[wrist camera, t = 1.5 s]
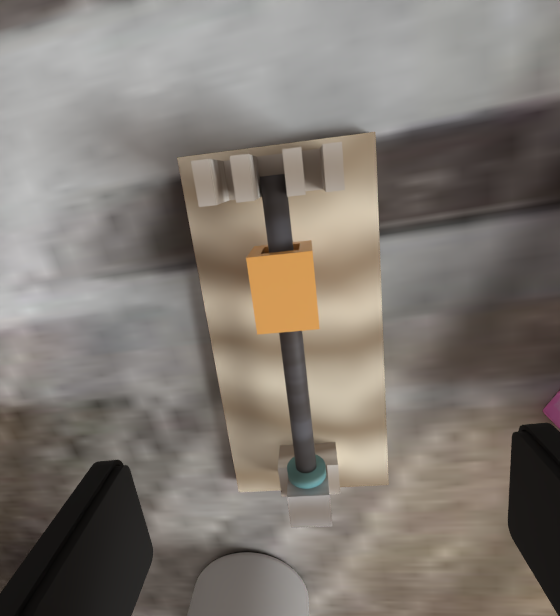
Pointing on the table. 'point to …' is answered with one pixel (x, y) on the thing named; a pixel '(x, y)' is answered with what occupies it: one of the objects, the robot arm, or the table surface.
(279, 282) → the sleeve
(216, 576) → the cylinder vase
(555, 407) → the gum box
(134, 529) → the robot arm
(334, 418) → the cord board
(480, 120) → the table surface
